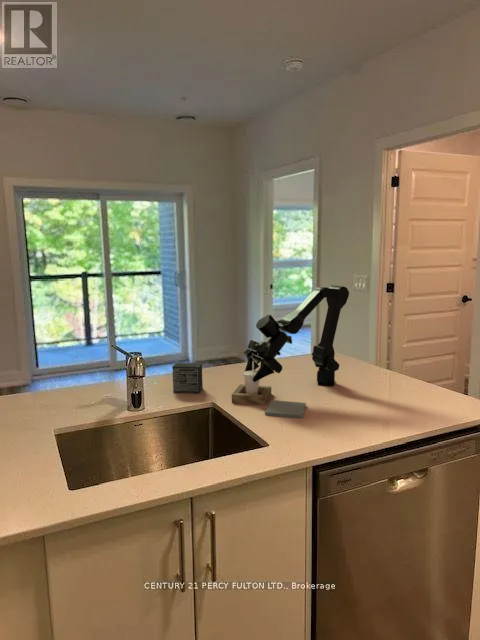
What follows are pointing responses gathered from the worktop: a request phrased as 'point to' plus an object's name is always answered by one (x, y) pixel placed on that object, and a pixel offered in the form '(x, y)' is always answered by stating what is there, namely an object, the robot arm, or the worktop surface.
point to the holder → (251, 395)
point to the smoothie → (251, 381)
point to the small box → (187, 378)
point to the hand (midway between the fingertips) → (248, 378)
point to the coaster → (286, 409)
